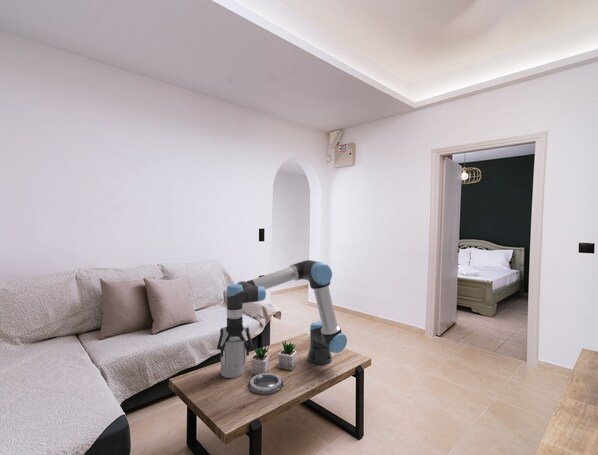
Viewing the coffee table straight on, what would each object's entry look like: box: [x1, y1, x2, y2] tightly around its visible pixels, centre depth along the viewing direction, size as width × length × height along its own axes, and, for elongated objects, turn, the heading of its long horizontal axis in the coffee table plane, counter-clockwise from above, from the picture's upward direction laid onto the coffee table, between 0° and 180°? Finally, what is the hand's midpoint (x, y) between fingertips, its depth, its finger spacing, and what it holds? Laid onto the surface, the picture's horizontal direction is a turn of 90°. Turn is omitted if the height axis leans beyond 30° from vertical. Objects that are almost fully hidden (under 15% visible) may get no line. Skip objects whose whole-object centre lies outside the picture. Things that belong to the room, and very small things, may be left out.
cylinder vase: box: [220, 326, 244, 379], centre depth 178 cm, size 12×12×25 cm
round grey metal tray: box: [248, 372, 284, 396], centre depth 165 cm, size 18×18×2 cm
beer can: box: [225, 336, 246, 369], centre depth 153 cm, size 10×10×12 cm
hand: (235, 362), depth 153 cm, fingers closed on beer can, 9 cm apart
